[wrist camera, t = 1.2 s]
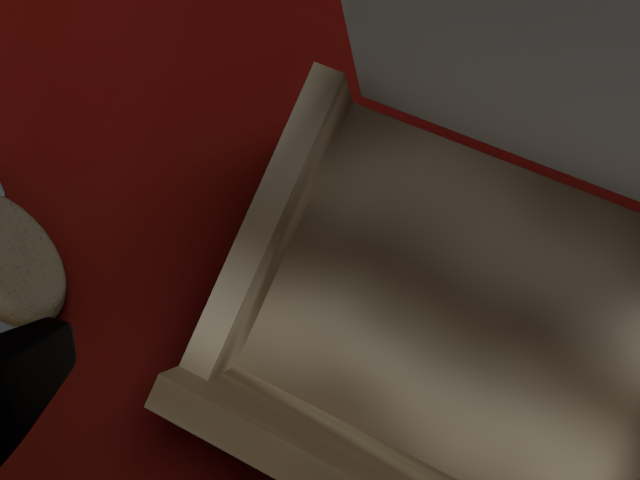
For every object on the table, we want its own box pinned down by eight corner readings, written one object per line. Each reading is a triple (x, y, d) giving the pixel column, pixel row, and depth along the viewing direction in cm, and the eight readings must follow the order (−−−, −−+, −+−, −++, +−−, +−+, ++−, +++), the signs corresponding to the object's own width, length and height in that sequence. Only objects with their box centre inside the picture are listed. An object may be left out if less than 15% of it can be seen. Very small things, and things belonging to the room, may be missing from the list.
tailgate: (746, 242, 18) (1680, 149, 5) (361, 95, 20) (294, -219, 7) (767, 196, 18) (1753, -22, 5) (379, 55, 20) (342, -328, 7)
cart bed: (608, 573, 20) (710, 718, 13) (216, 370, 23) (143, 407, 16) (743, 268, 20) (910, 264, 13) (333, 108, 23) (306, 42, 16)
